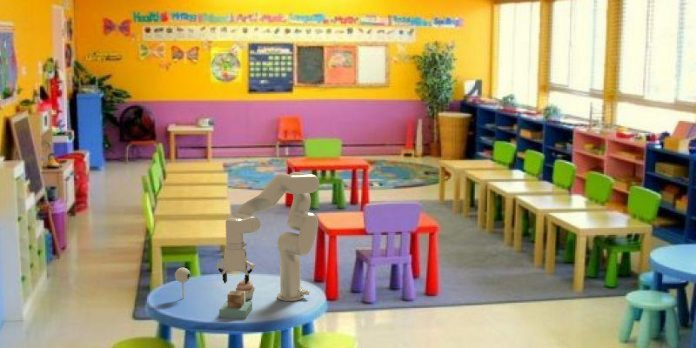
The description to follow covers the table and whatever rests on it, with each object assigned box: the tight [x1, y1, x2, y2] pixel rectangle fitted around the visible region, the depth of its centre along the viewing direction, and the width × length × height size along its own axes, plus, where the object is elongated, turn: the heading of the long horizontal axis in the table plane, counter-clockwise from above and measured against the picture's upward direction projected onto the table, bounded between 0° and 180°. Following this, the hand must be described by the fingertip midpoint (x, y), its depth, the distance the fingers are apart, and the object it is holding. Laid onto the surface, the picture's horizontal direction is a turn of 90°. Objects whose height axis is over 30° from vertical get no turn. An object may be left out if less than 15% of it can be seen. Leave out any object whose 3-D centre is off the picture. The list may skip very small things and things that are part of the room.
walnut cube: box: [227, 290, 244, 308], centre depth 396 cm, size 6×6×6 cm
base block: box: [219, 300, 253, 319], centre depth 397 cm, size 12×12×4 cm
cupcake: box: [234, 277, 256, 301], centre depth 418 cm, size 9×9×10 cm
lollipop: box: [174, 267, 191, 300], centre depth 417 cm, size 7×7×15 cm
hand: (236, 282), depth 395 cm, fingers open, 9 cm apart
